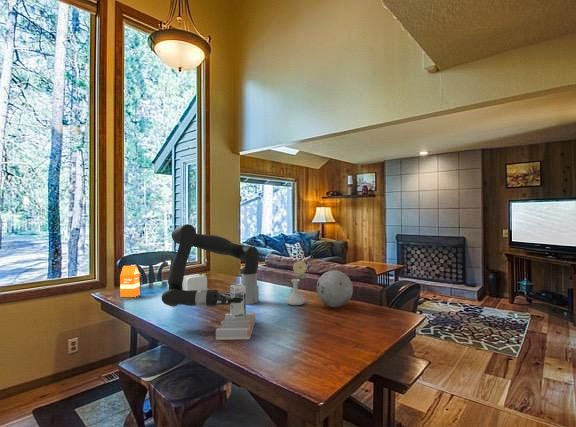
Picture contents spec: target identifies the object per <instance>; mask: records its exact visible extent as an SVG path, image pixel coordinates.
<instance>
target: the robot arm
mask: <svg viewBox="0 0 576 427" xmlns="http://www.w3.org/2000/svg"><path fill="white" fill-rule="evenodd" d="M171 238H172V240H173V242H174V243H176V244H178V248H177V251H176V253H175V256H174V258H173V260H172V262H171V265H170V267H169V271H168V277H167V284H168V290H165V291H164V292H163V293H162V294H161V301H162V303H163V304H165V305H166V306H169V307H172V308H173V307H177V306H179V305H183V306H188V307H217V306H219V305H220V306H221V305H228V306H229V305H230V304H232V303H241V298H232V297H230V291H222V293H220V292H219V290H218V289H207V290H189V291H185V290H182V288H183V286H182V284H183V279H184V276H185V273H186V269H187V268H186V267H187V263H188V260H189V256H190V254H191V250H192V247H194V248H198V249H199V250H200V249H201V250H204V251H208V252H210V253H213V254H218V255H221V256H231V257H233V258H236V259H238V260H241V261H244V262H245V264H244V267H242V268H241V269H240V274H241V275H240V279H241V282H240V284H243V285H245V286H246V305H254V304H257V303H258V302H260V300H259V295H260V294H259V291H260V290H259V288H260V287H259V285H258V268H259V250H258V249H257V247H255V246H254V245H253V246H252V245H242V244H237V243H235V242H234V243H233V242H232V241H231V240H229V239H227V238H225V237H223V236H219V235H214V234H201V233H197V231H196V229H195V227H194V226H193V225H192V224H191V223H190V224H189V223H186V224H182V225H180V226H178V227H176V228H174V230H172V232H171Z"/></svg>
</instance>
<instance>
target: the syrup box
mask: <svg viewBox="0 0 576 427" xmlns="http://www.w3.org/2000/svg"><path fill="white" fill-rule="evenodd" d="M229 287H230V289H229V292H230V297H232V298H241V303H232V304H230V306H229V307H230V308H229V309H230V312H229V314H230V315H231V316H232V317H233V318H234V319H236V318H242V317H246V313H247V311H246V310H247V309H246V308H247V307H246V306H247V304H246V286H245V285H243V284H241V283H238V284H230V286H229Z"/></svg>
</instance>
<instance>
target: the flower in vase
mask: <svg viewBox="0 0 576 427" xmlns="http://www.w3.org/2000/svg"><path fill="white" fill-rule="evenodd" d="M307 269H308V266H307V264H306V262H305V261H303V260H299V261H296V262H294V263H293V265H292V270H293V272H294V273H295V274H298V276H296V275H293V274H292V273H291V276H292V277H294V278H293V279H291V283H292V285H293V287H292V289H293V292H292V293H291V295H289V296H288V297H287V298H286V299H285V302H286V304H288V305H291V306H300V305H303V304H305V303H306V298H304V297H303V296H302V295H301V294H299V292H298V285H299V283H300V279H306V278H307V276H306V275H305V273H306V272H307ZM299 277H300V279H299Z"/></svg>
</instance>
